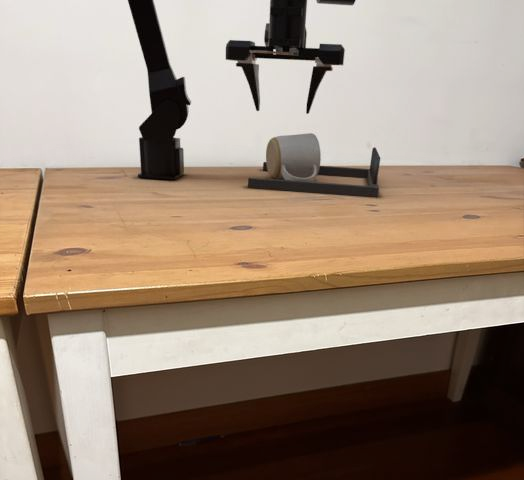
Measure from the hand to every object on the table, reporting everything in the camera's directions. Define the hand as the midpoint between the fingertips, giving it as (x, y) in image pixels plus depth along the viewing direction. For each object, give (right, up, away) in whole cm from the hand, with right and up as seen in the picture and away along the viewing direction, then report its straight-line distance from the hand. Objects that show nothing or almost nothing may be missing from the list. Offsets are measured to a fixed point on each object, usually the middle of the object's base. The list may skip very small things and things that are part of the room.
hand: (282, 112), depth 88 cm
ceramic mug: (+2, -10, +5) cm, 12 cm away
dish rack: (+5, -10, +5) cm, 12 cm away
